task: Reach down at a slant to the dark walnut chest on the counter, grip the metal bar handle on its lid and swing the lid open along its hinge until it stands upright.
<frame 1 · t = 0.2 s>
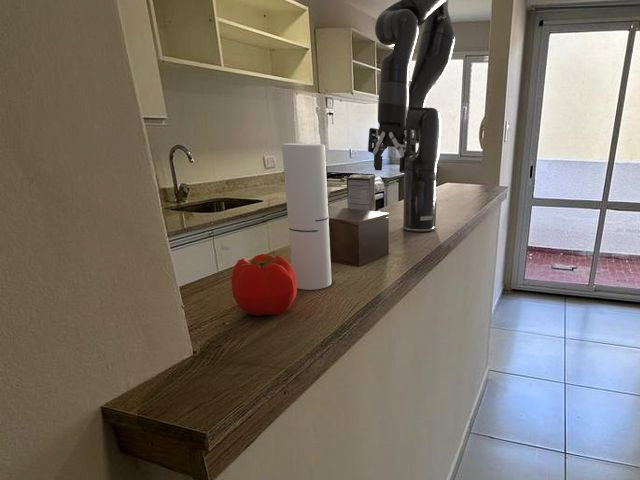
hand: (390, 171, 117), 17 cm above the countertop, tool pointing down, fingers open, 8 cm apart
coffee box: (362, 237, 123), on the countertop
tomato: (266, 312, 73), on the countertop
lid: (343, 205, 101), point 11 cm above the countertop, hinge at 0.0°
cylindrical container: (312, 284, 86), on the countertop
chest: (346, 254, 105), on the countertop
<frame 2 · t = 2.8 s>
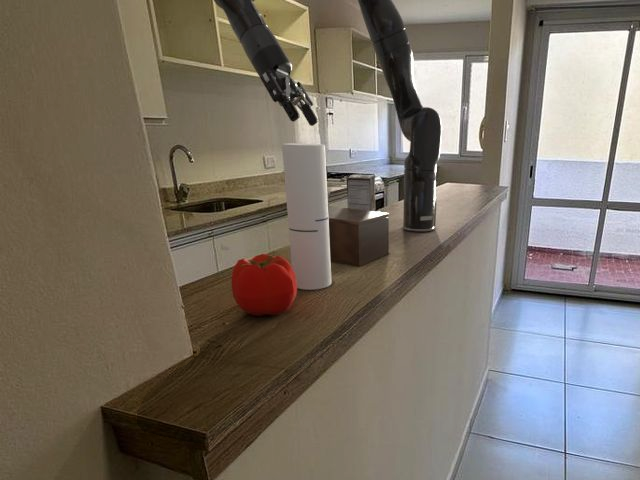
hand: (305, 121, 101), 29 cm above the countertop, tool tilted 35°, fingers open, 8 cm apart
nothing on the countertop moved.
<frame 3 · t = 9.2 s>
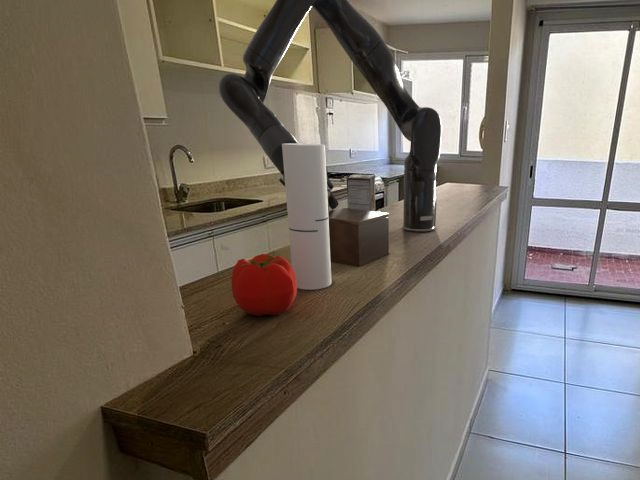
hand: (328, 208, 103), 10 cm above the countertop, tool tilted 45°, fingers closed on lid, 5 cm apart
lid: (343, 205, 101), point 11 cm above the countertop, hinge at 0.0°, touching gripper
everything else where it was.
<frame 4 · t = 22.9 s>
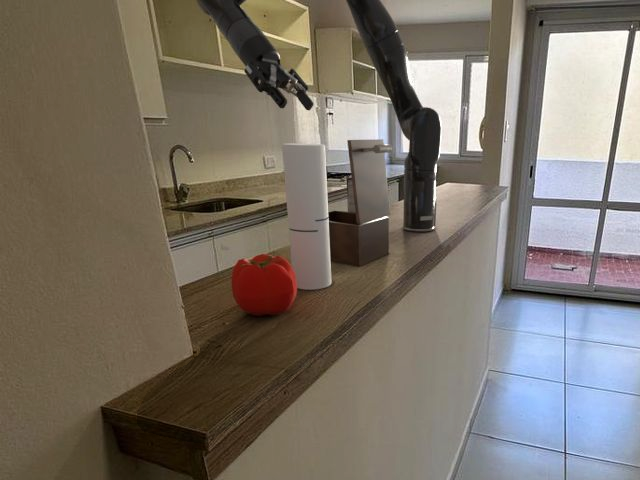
hand: (298, 106, 98), 32 cm above the countertop, tool tilted 45°, fingers open, 8 cm apart
lid: (378, 180, 95), point 18 cm above the countertop, hinge at 83.6°
everything else where it was.
at the end: lid at +84° (first picture: +0°); cylindrical container moved 0.2 cm from its start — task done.
